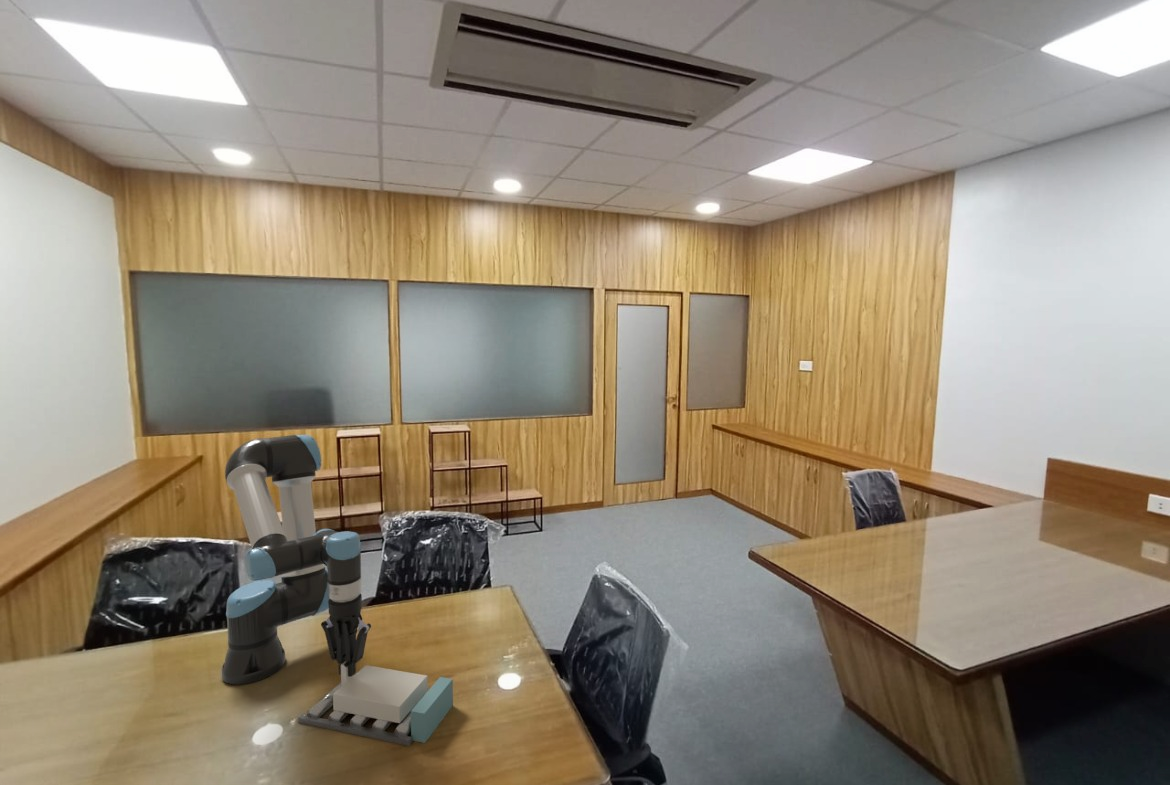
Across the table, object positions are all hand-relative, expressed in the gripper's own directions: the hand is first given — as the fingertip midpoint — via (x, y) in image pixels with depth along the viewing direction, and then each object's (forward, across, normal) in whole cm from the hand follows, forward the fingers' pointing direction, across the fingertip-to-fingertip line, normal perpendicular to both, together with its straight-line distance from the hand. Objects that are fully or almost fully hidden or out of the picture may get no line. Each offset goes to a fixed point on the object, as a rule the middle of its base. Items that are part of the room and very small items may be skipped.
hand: (347, 686), depth 130 cm
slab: (+2, +10, 0) cm, 10 cm away
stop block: (+5, +24, 0) cm, 24 cm away
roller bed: (+5, +8, 0) cm, 9 cm away
